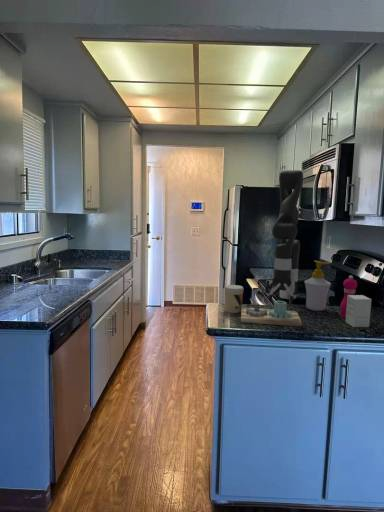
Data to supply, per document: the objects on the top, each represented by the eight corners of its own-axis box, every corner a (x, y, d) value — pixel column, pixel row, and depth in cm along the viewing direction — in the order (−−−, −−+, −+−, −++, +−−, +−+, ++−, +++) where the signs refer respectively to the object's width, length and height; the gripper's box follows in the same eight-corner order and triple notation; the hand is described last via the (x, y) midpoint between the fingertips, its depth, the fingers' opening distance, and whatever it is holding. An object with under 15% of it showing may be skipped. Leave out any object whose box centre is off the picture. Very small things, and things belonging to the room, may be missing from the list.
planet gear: (268, 311, 165) (269, 298, 164) (289, 312, 164) (290, 300, 163) (269, 317, 156) (270, 304, 155) (292, 319, 154) (292, 305, 153)
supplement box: (360, 321, 159) (363, 294, 157) (369, 327, 151) (372, 299, 150) (344, 321, 158) (347, 294, 157) (352, 327, 151) (355, 298, 149)
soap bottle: (320, 314, 169) (324, 264, 166) (297, 308, 178) (300, 260, 175) (333, 309, 177) (337, 261, 174) (310, 304, 187) (313, 258, 183)
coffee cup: (236, 314, 165) (237, 289, 164) (219, 310, 171) (220, 286, 169) (246, 310, 173) (247, 286, 171) (229, 306, 178) (230, 283, 177)
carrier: (241, 311, 170) (241, 298, 169) (296, 315, 166) (297, 302, 166) (240, 322, 155) (241, 307, 154) (301, 326, 151) (302, 311, 150)
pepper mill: (346, 319, 161) (349, 277, 159) (335, 315, 168) (339, 274, 166) (359, 318, 163) (363, 276, 161) (348, 314, 170) (352, 273, 168)
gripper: (297, 267, 159) (295, 301, 161) (265, 265, 161) (264, 299, 164) (300, 270, 152) (297, 306, 154) (266, 268, 154) (265, 304, 156)
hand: (280, 303), depth 159 cm, fingers open, 8 cm apart
